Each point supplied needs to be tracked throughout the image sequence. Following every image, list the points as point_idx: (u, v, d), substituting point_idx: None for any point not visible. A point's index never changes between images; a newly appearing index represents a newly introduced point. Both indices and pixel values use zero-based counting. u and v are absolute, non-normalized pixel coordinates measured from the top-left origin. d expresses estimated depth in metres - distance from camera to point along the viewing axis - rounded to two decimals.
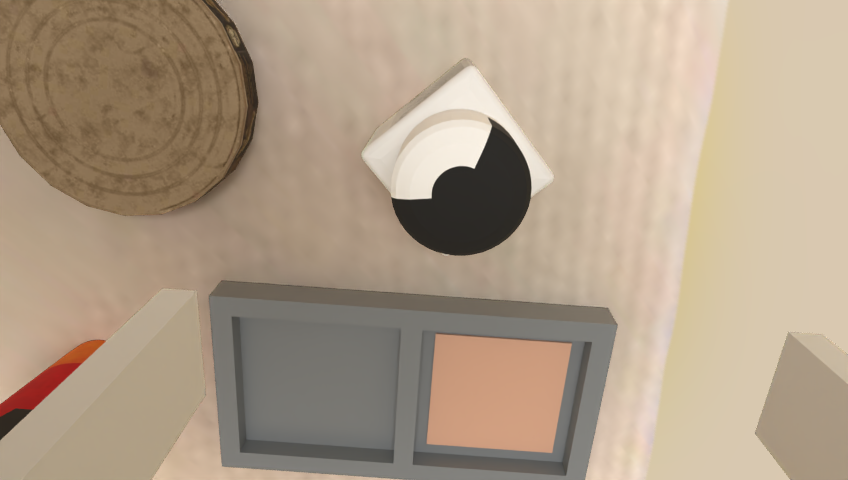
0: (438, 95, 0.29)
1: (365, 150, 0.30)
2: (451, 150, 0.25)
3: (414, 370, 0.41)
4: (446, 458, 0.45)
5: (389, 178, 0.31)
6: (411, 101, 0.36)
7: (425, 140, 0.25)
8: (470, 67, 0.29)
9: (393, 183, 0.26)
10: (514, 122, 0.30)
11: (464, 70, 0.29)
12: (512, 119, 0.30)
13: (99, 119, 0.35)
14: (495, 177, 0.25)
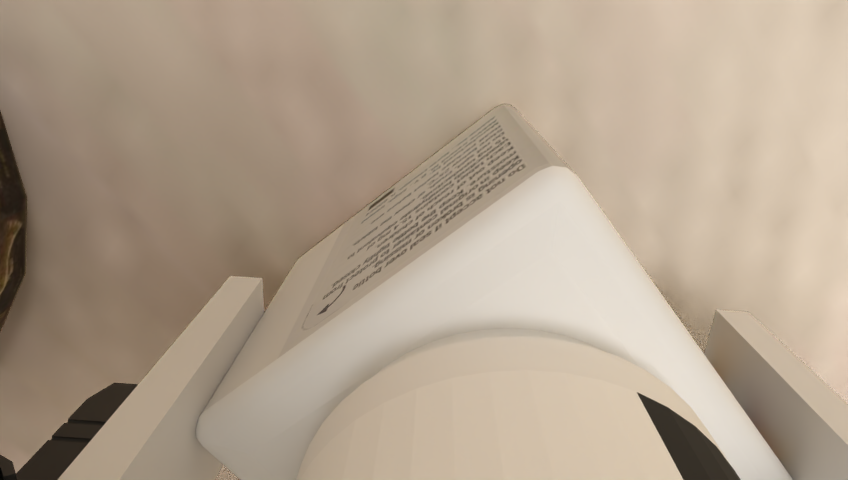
0: (437, 266, 0.08)
1: (205, 421, 0.10)
2: None
3: None
4: None
5: None
6: (373, 208, 0.15)
7: None
8: (554, 175, 0.08)
9: None
10: (694, 349, 0.09)
11: (532, 184, 0.08)
12: (688, 340, 0.09)
13: None
14: None
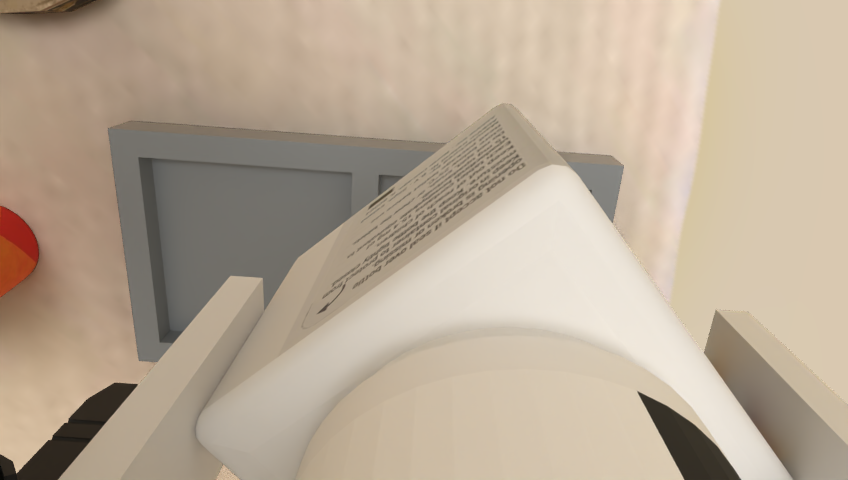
0: (437, 264, 0.08)
1: (204, 420, 0.10)
2: None
3: None
4: None
5: None
6: (372, 207, 0.15)
7: None
8: (554, 173, 0.08)
9: None
10: (694, 348, 0.09)
11: (532, 183, 0.08)
12: (688, 339, 0.09)
13: None
14: None
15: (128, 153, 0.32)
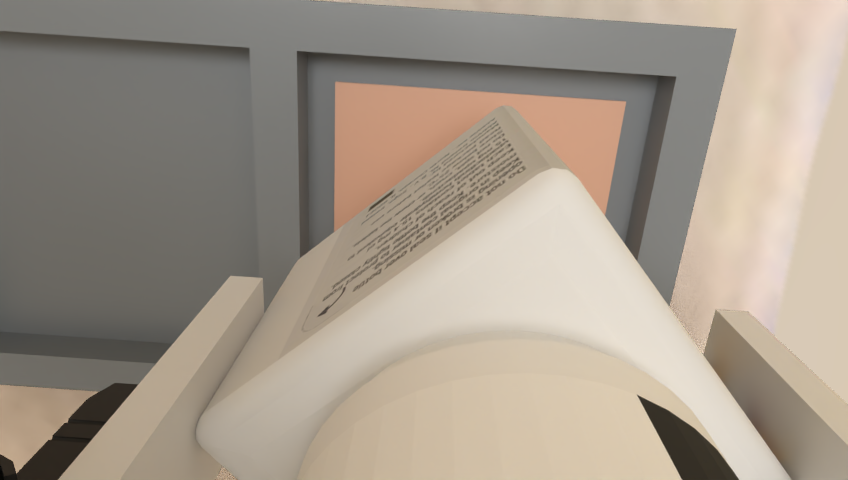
0: (437, 267, 0.08)
1: (205, 422, 0.10)
2: None
3: (288, 156, 0.19)
4: None
5: None
6: (373, 209, 0.15)
7: None
8: (555, 177, 0.08)
9: None
10: (695, 351, 0.09)
11: (532, 186, 0.08)
12: (688, 342, 0.09)
13: None
14: None
15: None
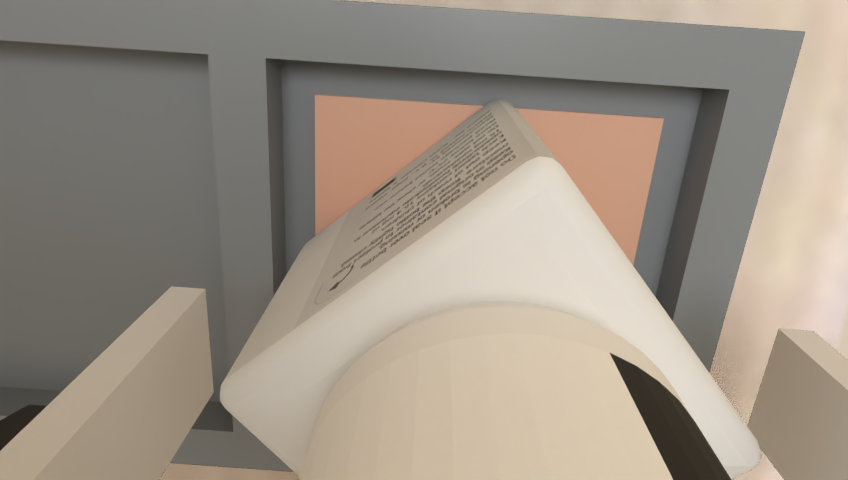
0: (437, 246, 0.09)
1: (228, 386, 0.11)
2: None
3: (258, 185, 0.16)
4: None
5: (299, 458, 0.11)
6: (376, 195, 0.16)
7: None
8: (541, 164, 0.09)
9: None
10: (666, 320, 0.10)
11: (521, 173, 0.09)
12: (660, 312, 0.10)
13: None
14: None
15: None
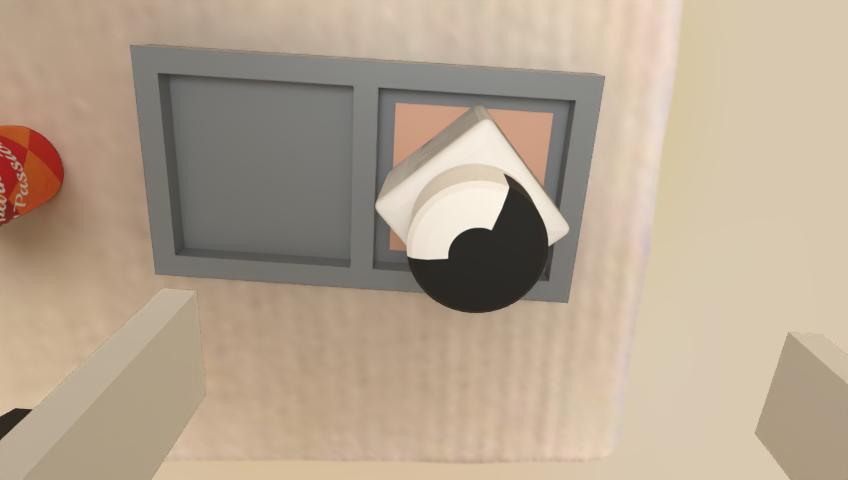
0: (453, 148, 0.29)
1: (379, 202, 0.30)
2: (468, 211, 0.25)
3: (371, 143, 0.36)
4: None
5: (403, 229, 0.31)
6: (424, 146, 0.36)
7: (442, 201, 0.25)
8: (485, 121, 0.29)
9: (409, 242, 0.26)
10: (529, 175, 0.30)
11: (479, 124, 0.29)
12: (527, 172, 0.30)
13: None
14: (512, 238, 0.25)
15: (148, 69, 0.35)
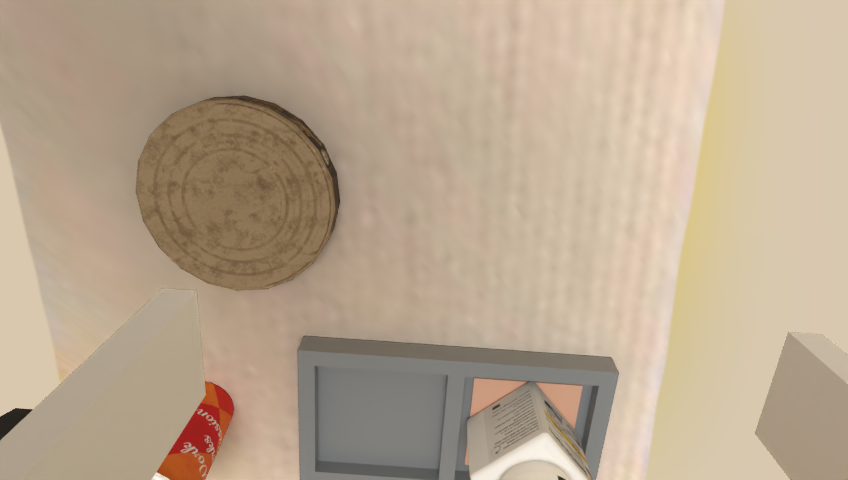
0: (523, 449, 0.46)
1: (473, 476, 0.47)
2: None
3: (458, 407, 0.52)
4: None
5: None
6: (494, 410, 0.52)
7: None
8: (544, 435, 0.45)
9: None
10: (571, 463, 0.46)
11: (540, 436, 0.45)
12: (570, 461, 0.46)
13: (222, 220, 0.46)
14: None
15: (308, 363, 0.51)
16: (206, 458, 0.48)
